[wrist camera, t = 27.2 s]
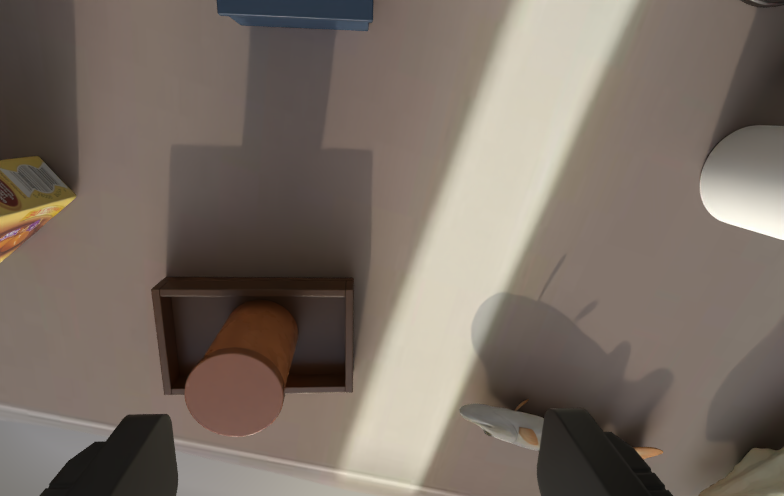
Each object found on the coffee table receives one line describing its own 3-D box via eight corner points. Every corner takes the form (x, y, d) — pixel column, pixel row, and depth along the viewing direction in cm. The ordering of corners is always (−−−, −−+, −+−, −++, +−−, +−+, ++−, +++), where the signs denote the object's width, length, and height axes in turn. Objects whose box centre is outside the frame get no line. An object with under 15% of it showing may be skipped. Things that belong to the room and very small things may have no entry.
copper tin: (299, 297, 38) (281, 352, 29) (301, 365, 40) (285, 436, 31) (220, 297, 37) (179, 353, 29) (226, 366, 39) (188, 438, 31)
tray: (353, 277, 39) (353, 289, 36) (352, 374, 41) (352, 392, 38) (165, 276, 37) (150, 289, 35) (177, 376, 40) (163, 395, 37)
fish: (475, 419, 38) (447, 448, 40) (679, 474, 42) (641, 496, 45) (469, 374, 41) (444, 404, 44) (658, 429, 45) (624, 453, 48)
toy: (716, 474, 40) (713, 556, 43) (896, 443, 39) (880, 529, 42) (675, 426, 46) (675, 502, 49) (832, 399, 45) (822, 477, 48)
